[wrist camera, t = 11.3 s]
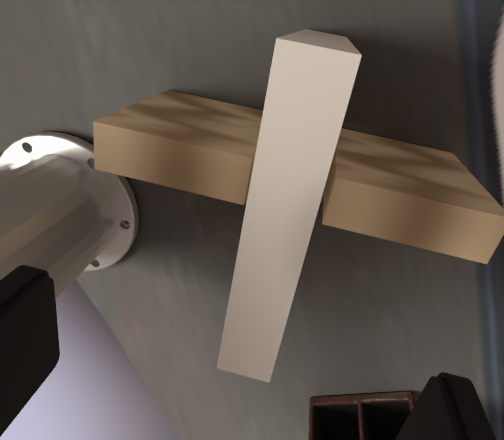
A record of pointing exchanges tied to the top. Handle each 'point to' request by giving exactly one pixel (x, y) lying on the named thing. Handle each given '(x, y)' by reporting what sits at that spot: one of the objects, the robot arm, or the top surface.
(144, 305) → the top surface
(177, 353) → the top surface
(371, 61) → the top surface
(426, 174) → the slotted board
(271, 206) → the cream angled block
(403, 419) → the letter holder
